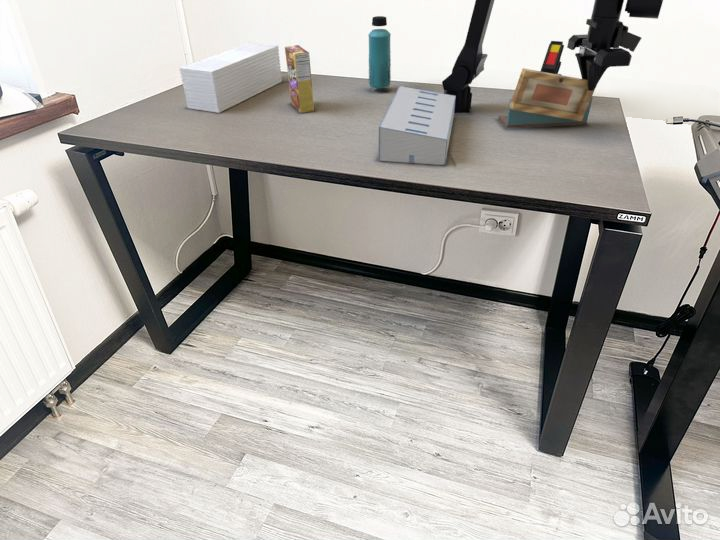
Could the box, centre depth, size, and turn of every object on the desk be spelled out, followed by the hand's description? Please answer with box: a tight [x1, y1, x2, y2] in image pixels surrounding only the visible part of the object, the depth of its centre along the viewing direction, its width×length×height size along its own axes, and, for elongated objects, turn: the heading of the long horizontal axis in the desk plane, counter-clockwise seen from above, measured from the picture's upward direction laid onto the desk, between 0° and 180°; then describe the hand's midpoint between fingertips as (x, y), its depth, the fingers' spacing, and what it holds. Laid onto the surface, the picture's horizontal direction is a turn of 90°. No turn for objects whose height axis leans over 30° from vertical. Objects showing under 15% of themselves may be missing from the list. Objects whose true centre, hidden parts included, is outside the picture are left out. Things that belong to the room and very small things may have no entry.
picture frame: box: [508, 67, 598, 121], centre depth 121 cm, size 18×2×9 cm, turn 95°
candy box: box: [284, 44, 315, 114], centre depth 139 cm, size 9×4×15 cm, turn 23°
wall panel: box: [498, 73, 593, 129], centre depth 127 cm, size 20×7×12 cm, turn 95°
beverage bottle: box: [367, 15, 392, 89], centre depth 149 cm, size 6×7×20 cm
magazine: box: [540, 40, 565, 74], centre depth 141 cm, size 4×13×15 cm, turn 155°
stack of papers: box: [179, 42, 283, 114], centre depth 151 cm, size 32×11×11 cm, turn 155°
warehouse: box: [378, 85, 456, 166], centre depth 121 cm, size 30×14×8 cm, turn 168°
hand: (588, 88), depth 121 cm, fingers closed on picture frame, 2 cm apart
